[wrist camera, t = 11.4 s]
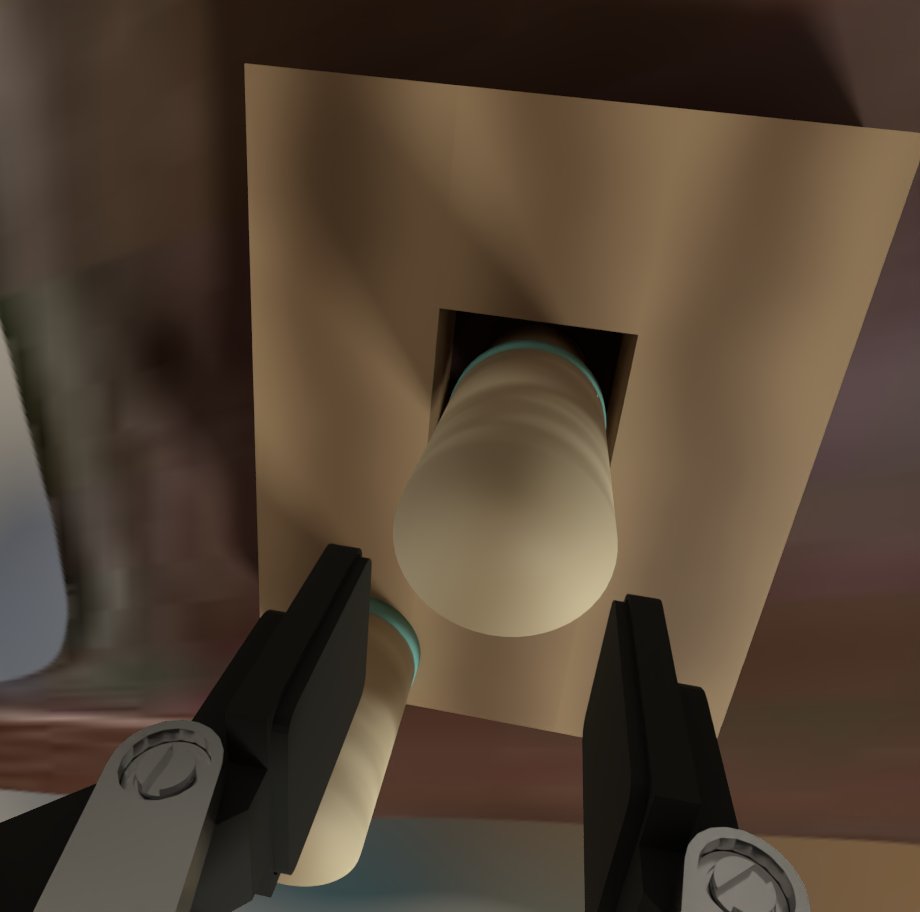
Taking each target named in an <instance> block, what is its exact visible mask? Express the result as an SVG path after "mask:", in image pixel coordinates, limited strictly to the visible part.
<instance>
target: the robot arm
mask: <svg viewBox="0 0 920 912" xmlns="http://www.w3.org/2000/svg"><path fill="white" fill-rule="evenodd" d="M371 570H372V561H371V559H370V558H365V557H362V550H361V549H360V548H356V547H350V546H344V545H338V544H332V543H330V544H328V545H327V547H326V548H325V550H324V551H323V553H322V555H321V556H320V558H319V560H318V561H317V563H316V564H315V566H314V568H313V569H312V571H311V572H310V574H309V576H308V577H307V579H306V581H305V582H304V584H303V585H302V587H301V589H300V590H299V592H298V594H297V595H296V597H295V598H294V600H293V602H292V603H291V605H290V606H289V608H288V610H287V611H286V612H282V611H276V610H271V609H270V610H267V611H265V613H264V614H263V615H262V616H261V617H260V619H259V620H258V622H257V623H256V625H255V626H254V628H253V629H252V631H251V632H250V634H249V635H248V637H247V638H246V640H245V642H244V643H243V645H242V646H241V648H240V649H239V651H238V652H237V654H236V655H235V657H234V658H233V660H232V661H231V663H230V664H229V666H228V667H227V669H226V670H225V672H224V673H223V675H222V676H221V678H220V679H219V681H218V682H217V684H216V685H215V687H214V688H213V690H212V691H211V693H210V694H209V696H208V697H207V699H206V700H205V702H204V703H203V705H202V706H201V708H200V709H199V711H198V712H197V714H196V715H195V717H194V718H193V720H192V721H187V720H174V721H165V722H161V723H158V724H154V725H151V726H148V727H146V728H144V729H142V730H140V731H139V732H137V733H135V734H133V735H131V736H130V737H129V738H128V739H127V740H126V741H124V742H123V743H122V744H121V745H120V746H118V748H117V749H116V750H115V752H114V753H113V755H112V756H111V758H110V759H109V760H108V762H107V764H106V766H105V768H104V770H103V772H102V774H101V776H100V778H99V780H98V782H97V784H94V785H92V786H89V787H87V788H84V789H82V790H79V791H77V792H75V793H72V794H70V795H67V796H65V797H62V798H60V799H57V800H55V801H53V802H50V803H48V804H45V805H43V806H40V807H38V808H36V809H33V810H30V811H28V812H26V813H23V814H21V815H18V816H16V817H14V818H11V819H9V820H6V821H4V822H1V823H0V912H232V911H233V910H235V909H237V908H239V907H241V906H242V905H244V904H246V903H248V902H249V901H251V900H252V899H253V897H254V895H255V894H258V895H263V896H267V897H271V896H272V894H273V891H274V889H275V886H276V884H277V881H278V879H279V876H280V874H281V873H282V874H286V875H292V874H293V872H294V870H295V868H296V866H297V863H298V861H299V858H300V855H301V853H302V850H303V848H304V845H305V842H306V840H307V837H308V835H309V832H310V829H311V827H312V824H313V822H314V819H315V816H316V814H317V811H318V809H319V806H320V803H321V801H322V798H323V796H324V793H325V790H326V788H327V785H328V783H329V780H330V777H331V775H332V772H333V770H334V767H335V764H336V762H337V759H338V757H339V754H340V751H341V749H342V746H343V744H344V741H345V738H346V736H347V733H348V731H349V728H350V725H351V723H352V720H353V718H354V715H355V712H356V710H357V707H358V705H359V702H360V699H361V697H362V693H363V689H364V685H365V678H366V662H367V644H368V625H369V607H370V589H371ZM582 745H583V810H584V874H585V912H811V910H810V903H809V900H808V896H807V892H806V889H805V886H804V885H803V883H802V881H801V879H800V877H799V876H798V874H797V872H796V870H795V869H794V868H793V867H792V865H791V864H790V863H789V862H788V861H787V860H786V859H785V858H784V857H783V856H782V854H781V853H780V852H778V851H777V850H776V849H774V848H773V847H772V846H770V845H769V844H768V843H766V842H765V841H763V840H762V839H760V838H758V837H756V836H754V835H752V834H750V833H748V832H746V831H742V830H739V828H738V824H737V820H736V816H735V812H734V808H733V804H732V799H731V795H730V791H729V787H728V783H727V779H726V775H725V771H724V766H723V762H722V758H721V754H720V750H719V746H718V742H717V738H716V733H715V729H714V725H713V721H712V717H711V713H710V709H709V705H708V700H707V697H706V694H705V691H704V690H703V689H702V688H701V687H698V686H693V685H687V684H681V683H678V681H677V676H676V671H675V666H674V661H673V656H672V650H671V645H670V640H669V635H668V630H667V625H666V620H665V615H664V609H663V604H662V601H661V600H660V599H657V598H651V597H645V596H639V595H633V594H627V595H626V597H625V599H624V602H623V601H617V600H614V601H613V602H612V605H611V609H610V613H609V617H608V621H607V626H606V630H605V634H604V638H603V643H602V647H601V651H600V655H599V660H598V664H597V668H596V672H595V677H594V681H593V685H592V689H591V693H590V698H589V702H588V706H587V710H586V715H585V719H584V726H583V738H582Z"/></svg>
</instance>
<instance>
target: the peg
mask: <svg viewBox="0 0 920 912" xmlns="http://www.w3.org/2000/svg"><path fill="white" fill-rule="evenodd" d="M393 542H394V549H395V554H396V557H397V560H398V564H399V566H400V568H401V570H402V573H403V575H404V577H405V578H406V580H407V581H408V583H409V585H410V586H411V588H412V589H413V590H414V591H415V593H416V594H417V595H418V596H419V597H420V598H421V599H422V600H423V601H424V602H425V603H426V604H427V605H428V606H429V607H430V608H431V609H433V610H434V611H435V612H437V613H438V614H439V615H441V616H443V617H444V618H446V619H447V620H449V621H451V622H453V623H455V624H457V625H459V626H461V627H464V628H466V629H469V630H472V631H475V632H479V633H483V634H487V635H493V636H501V637H523V636H532V635H537V634H542V633H546V632H549V631H552V630H555V629H558V628H560V627H562V626H564V625H566V624H569V623H570V622H572V621H574V620H575V619H577V618H578V617H580V616H581V615H582V614H584V613H585V612H586V611H587V610H588V609H590V608H591V607H592V606H593V605H594V603H595V602H596V601H597V600H598V599H599V598H600V596H601V595H602V593H603V592H604V591H605V589H606V588H607V586H608V583H609V581H610V579H611V577H612V575H613V571H614V568H615V565H616V559H617V552H618V538H617V529H616V520H615V510H614V501H613V492H612V483H611V474H610V464H609V455H608V446H607V437H606V412H605V405H604V398H603V395H602V392H601V389H600V386H599V384H598V382H597V380H596V378H595V377H594V375H593V374H592V372H591V371H590V370H589V369H588V367H587V364H586V360H585V358H584V356H583V353H582V352H581V350H580V349H579V347H578V346H577V345H576V343H575V342H574V341H573V340H572V339H571V338H569V337H568V336H567V335H565V334H564V333H562V332H560V331H558V330H556V329H554V328H551V327H548V326H543V325H526V326H520V327H517V328H514V329H512V330H510V331H508V332H506V333H504V334H503V335H501V336H500V337H499V338H498V339H496V340H495V341H494V342H493V344H492V345H491V346H490V347H489V349H488V350H487V351H485V352H484V353H482V354H481V355H479V356H478V357H477V358H476V359H475V360H473V361H472V362H471V363H470V364H469V365H468V367H467V368H466V369H465V370H464V372H463V373H462V375H461V376H460V378H459V380H458V382H457V384H456V386H455V388H454V390H453V392H452V394H451V397H450V400H449V403H448V405H447V407H446V409H445V411H444V413H443V415H442V417H441V419H440V421H439V423H438V425H437V427H436V429H435V431H434V433H433V435H432V437H431V439H430V441H429V443H428V445H427V447H426V449H425V451H424V453H423V455H422V457H421V458H420V460H419V462H418V464H417V466H416V468H415V470H414V472H413V474H412V476H411V478H410V480H409V482H408V484H407V486H406V488H405V490H404V492H403V494H402V496H401V498H400V501H399V503H398V506H397V509H396V513H395V517H394V524H393Z"/></svg>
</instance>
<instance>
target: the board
mask: <svg viewBox="0 0 920 912" xmlns="http://www.w3.org/2000/svg"><path fill="white" fill-rule="evenodd" d="M244 67H245V103H246V138H247V174H248V209H249V245H250V280H251V316H252V351H253V387H254V422H255V458H256V493H257V529H258V564H259V600H260V617H261V616H262V615H263V614H264V613H265V611H267V610H270V609H271V610H276V611H282V612H286V611H287V610H288V608H289V606H290V605H291V603H292V602H293V600H294V598H295V597H296V595H297V594H298V592H299V590H300V589H301V587H302V585H303V584H304V582H305V581H306V579H307V577H308V576H309V574H310V572H311V571H312V569H313V568H314V566H315V564H316V563H317V561H318V560H319V558H320V556H321V555H322V553H323V551H324V550H325V548H326V547H327V545H328V544H330V543H332V544H338V545H344V546H350V547H356V548H360V549H361V550H362V557H365V558H370V559H371V561H372V570H371V589H370V607H369V625H368V644H367V662H366V678H365V685H364V689H363V693H362V697H361V699H360V702H359V705H358V707H357V710H356V712H355V715H354V718H353V720H352V723H351V725H350V728H349V731H348V733H347V736H346V738H345V741H344V744H343V746H342V749H341V751H340V754H339V757H338V759H337V762H336V764H335V767H334V770H333V772H332V775H331V777H330V780H329V783H328V785H327V788H326V790H325V793H324V796H323V798H322V801H321V803H320V806H319V809H318V811H317V814H316V816H315V819H314V822H313V824H312V827H311V829H310V832H309V835H308V837H307V840H306V842H305V845H304V848H303V850H302V853H301V855H300V858H299V861H298V863H297V866H296V868H295V870H294V872H293V874H292V875H286V874H282V873H281V874H280V876H279V879H278V881H277V883H280V884H286V885H292V886H317V885H322V884H327V883H330V882H333V881H336V880H338V879H339V878H342V877H343V876H345V875H346V874H347V873H349V872H350V871H351V870H352V869H353V867H354V866H355V865H356V863H357V862H358V860H359V857H360V854H361V851H362V848H363V844H364V841H365V837H366V834H367V831H368V827H369V824H370V821H371V818H372V814H373V811H374V808H375V804H376V801H377V798H378V794H379V791H380V788H381V785H382V781H383V778H384V775H385V771H386V768H387V765H388V761H389V758H390V755H391V751H392V748H393V745H394V741H395V738H396V735H397V731H398V728H399V725H400V721H401V718H402V715H403V711H404V708H405V705H406V704H410V705H415V706H420V707H425V708H431V709H436V710H441V711H446V712H452V713H457V714H462V715H468V716H473V717H478V718H483V719H489V720H494V721H499V722H504V723H510V724H515V725H520V726H525V727H531V728H536V729H541V730H547V731H552V732H557V733H562V734H568V735H573V736H578V737H583V726H584V719H585V715H586V710H587V706H588V702H589V698H590V693H591V689H592V685H593V681H594V677H595V672H596V668H597V664H598V660H599V655H600V651H601V647H602V643H603V638H604V634H605V630H606V626H607V621H608V617H609V613H610V609H611V605H612V602H613V601H614V600H617V601H623V602H624V599H625V597H626V595H627V594H633V595H639V596H645V597H651V598H657V599H660V600H661V601H662V604H663V609H664V615H665V620H666V625H667V630H668V635H669V640H670V645H671V650H672V656H673V661H674V666H675V671H676V676H677V681H678V683H681V684H687V685H693V686H698V687H701V688H702V689H703V690H704V691H705V694H706V697H707V700H708V705H709V709H710V713H711V717H712V721H713V725H714V729H715V733H716V738H717V737H718V734H719V732H720V729H721V726H722V723H723V720H724V717H725V714H726V712H727V709H728V706H729V703H730V700H731V697H732V694H733V692H734V689H735V686H736V683H737V680H738V677H739V675H740V672H741V669H742V666H743V663H744V660H745V657H746V655H747V652H748V649H749V646H750V643H751V640H752V637H753V635H754V632H755V629H756V626H757V623H758V620H759V617H760V615H761V612H762V609H763V606H764V603H765V600H766V598H767V595H768V592H769V589H770V586H771V583H772V580H773V578H774V575H775V572H776V569H777V566H778V563H779V560H780V558H781V555H782V552H783V549H784V546H785V543H786V541H787V538H788V535H789V532H790V529H791V526H792V523H793V521H794V518H795V515H796V512H797V509H798V506H799V503H800V501H801V498H802V495H803V492H804V489H805V486H806V483H807V481H808V478H809V475H810V472H811V469H812V466H813V464H814V461H815V458H816V455H817V452H818V449H819V446H820V444H821V441H822V438H823V435H824V432H825V429H826V426H827V424H828V421H829V418H830V415H831V412H832V409H833V407H834V404H835V401H836V398H837V395H838V392H839V389H840V387H841V384H842V381H843V378H844V375H845V372H846V369H847V367H848V364H849V361H850V358H851V355H852V352H853V349H854V347H855V344H856V341H857V338H858V335H859V332H860V330H861V327H862V324H863V321H864V318H865V315H866V312H867V310H868V307H869V304H870V301H871V298H872V295H873V292H874V290H875V287H876V284H877V281H878V278H879V275H880V273H881V270H882V267H883V264H884V261H885V258H886V255H887V253H888V250H889V247H890V244H891V241H892V238H893V235H894V233H895V230H896V227H897V224H898V221H899V218H900V215H901V213H902V210H903V207H904V204H905V201H906V198H907V196H908V193H909V190H910V187H911V184H912V181H913V178H914V176H915V173H916V170H917V167H918V164H919V161H920V133H914V132H904V131H895V130H885V129H875V128H866V127H856V126H846V125H837V124H827V123H817V122H808V121H798V120H788V119H779V118H769V117H759V116H750V115H740V114H730V113H721V112H711V111H701V110H691V109H682V108H672V107H662V106H653V105H643V104H633V103H624V102H614V101H604V100H595V99H585V98H575V97H566V96H556V95H546V94H537V93H527V92H517V91H508V90H498V89H488V88H479V87H469V86H459V85H450V84H440V83H430V82H421V81H411V80H401V79H392V78H382V77H372V76H363V75H353V74H343V73H334V72H324V71H314V70H305V69H295V68H285V67H276V66H266V65H256V64H246V63H244ZM456 310H457V311H464V312H472V313H479V314H487V315H494V316H502V317H509V318H516V319H524V320H531V321H539V322H546V323H554V324H561V325H569V326H576V327H583V328H591V329H598V330H606V331H613V332H621V333H623V337H622V341H621V346H620V351H619V356H618V361H617V366H616V371H615V376H614V381H613V386H612V391H611V396H610V400H609V405H608V410H607V415H606V437H607V446H608V455H609V464H610V474H611V483H612V492H613V501H614V510H615V520H616V529H617V538H618V552H617V559H616V565H615V568H614V571H613V575H612V577H611V579H610V581H609V583H608V586H607V588H606V589H605V591H604V592H603V593H602V595H601V596H600V598H599V599H598V600H597V601H596V602H595V603H594V605H593V606H592V607H591V608H590V609H588V610H587V611H586V612H585V613H584V614H582V615H581V616H580V617H578V618H577V619H575V620H574V621H572V622H570V623H569V624H566V625H564V626H562V627H560V628H558V629H555V630H552V631H549V632H546V633H542V634H537V635H532V636H523V637H501V636H493V635H487V634H483V633H479V632H475V631H472V630H469V629H466V628H464V627H461V626H459V625H457V624H455V623H453V622H451V621H449V620H447V619H446V618H444V617H443V616H441V615H439V614H438V613H437V612H435V611H434V610H433V609H431V608H430V607H429V606H428V605H427V604H426V603H425V602H424V601H423V600H422V599H421V598H420V597H419V596H418V595H417V594H416V593H415V591H414V590H413V589H412V588H411V586H410V585H409V583H408V581H407V580H406V578H405V577H404V575H403V573H402V570H401V568H400V566H399V564H398V560H397V557H396V554H395V549H394V542H393V524H394V517H395V513H396V509H397V506H398V503H399V501H400V498H401V496H402V494H403V492H404V490H405V488H406V486H407V484H408V482H409V480H410V478H411V476H412V474H413V472H414V470H415V468H416V466H417V464H418V462H419V460H420V458H421V457H422V455H423V453H424V451H425V449H426V447H427V445H428V443H429V441H430V439H431V437H432V435H433V433H434V431H435V429H436V427H437V425H438V423H439V421H440V419H441V417H442V415H443V413H444V411H445V409H446V407H447V401H448V391H449V381H450V371H451V361H452V350H453V340H454V330H455V320H456Z"/></svg>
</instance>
